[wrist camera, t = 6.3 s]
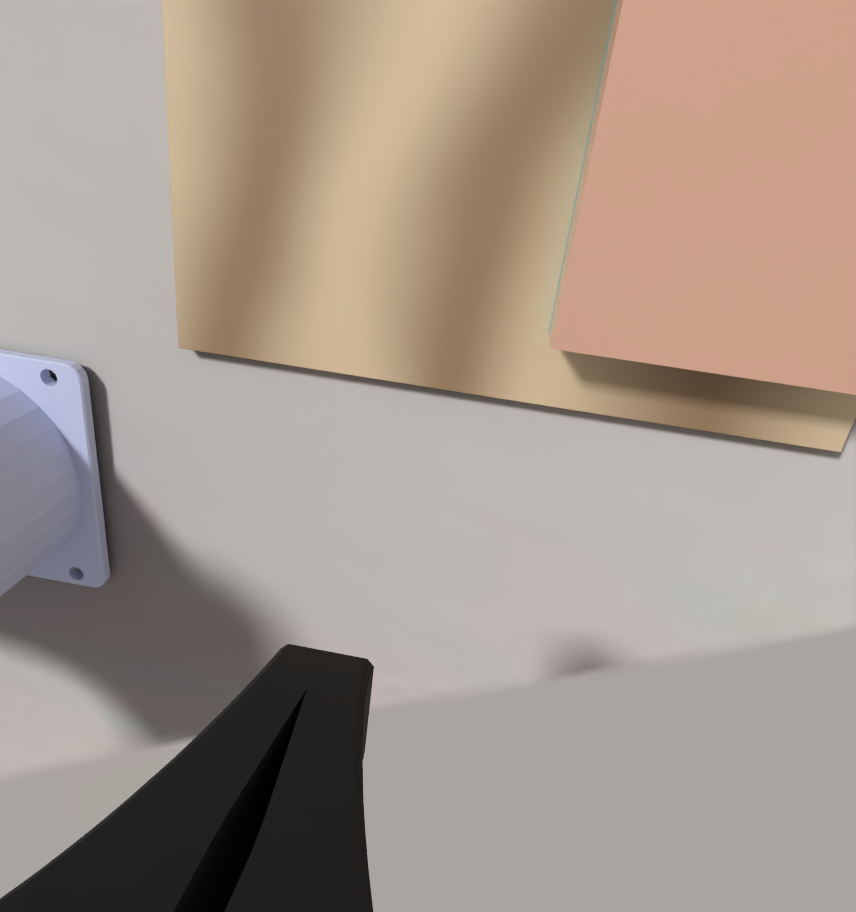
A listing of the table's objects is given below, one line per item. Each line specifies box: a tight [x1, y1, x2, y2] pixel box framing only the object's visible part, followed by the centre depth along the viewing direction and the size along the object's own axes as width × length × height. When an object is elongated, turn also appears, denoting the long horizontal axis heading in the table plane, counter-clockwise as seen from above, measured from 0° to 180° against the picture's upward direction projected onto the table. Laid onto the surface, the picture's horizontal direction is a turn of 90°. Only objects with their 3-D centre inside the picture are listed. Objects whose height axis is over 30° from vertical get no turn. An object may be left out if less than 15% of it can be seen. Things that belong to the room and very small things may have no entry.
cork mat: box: [162, 0, 856, 452], centre depth 14 cm, size 18×18×1 cm
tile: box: [548, 0, 856, 395], centre depth 14 cm, size 2×8×7 cm
